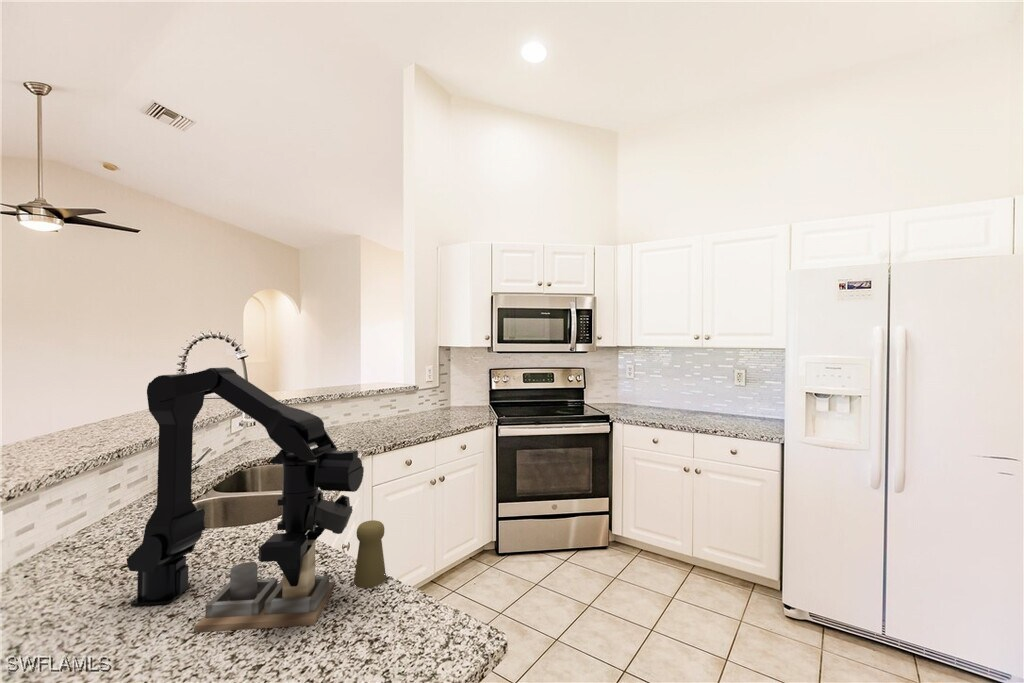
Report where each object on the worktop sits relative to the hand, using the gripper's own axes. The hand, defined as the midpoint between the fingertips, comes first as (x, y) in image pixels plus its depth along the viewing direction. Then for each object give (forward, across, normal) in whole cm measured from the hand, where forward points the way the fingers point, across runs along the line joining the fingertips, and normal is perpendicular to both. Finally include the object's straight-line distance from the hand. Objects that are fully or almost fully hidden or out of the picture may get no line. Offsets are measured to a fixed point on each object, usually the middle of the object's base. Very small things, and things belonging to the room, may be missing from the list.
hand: (298, 579), depth 78 cm
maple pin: (+2, 0, 0) cm, 2 cm away
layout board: (+4, 0, +4) cm, 6 cm away
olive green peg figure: (+5, +8, -10) cm, 14 cm away
